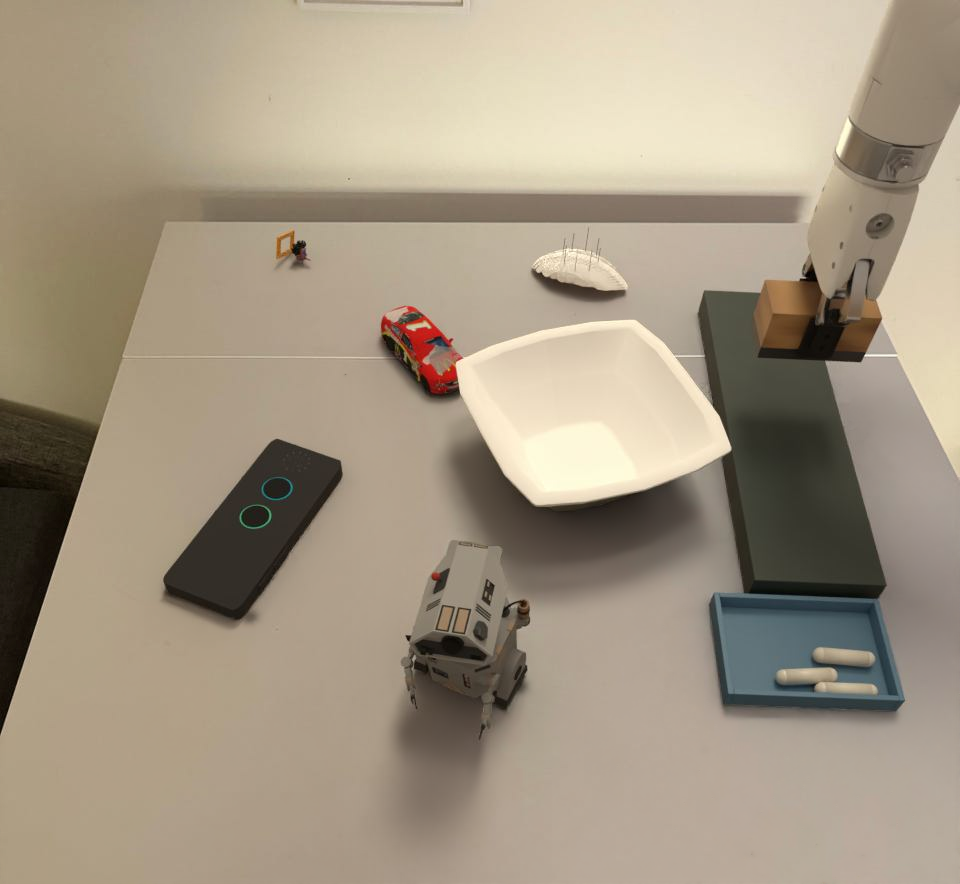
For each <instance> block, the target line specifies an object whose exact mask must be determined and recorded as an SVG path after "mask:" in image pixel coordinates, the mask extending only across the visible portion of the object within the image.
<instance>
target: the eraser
mask: <svg viewBox="0 0 960 884" xmlns="http://www.w3.org/2000/svg"><path fill="white" fill-rule="evenodd" d="M841 288H847V284H844V285H843V286H842V287H841ZM759 293H760V296H759V299H758V302H757V305H756V308H755V311H754V314H753V317H752V320H751V323H750V326H751V331H752V336H753V340H754V345H755V350H756V355H757V358H774V359H796V360H818V361H825V362H840V363H841V362H843V363H862V362H863V360H864V358H865V355H866V354H867V352H868V349H869V348H870V345H871V343H872V341H873V339H874V338H875V335H876V333H877V331H878V329H879V327H880V325H881V323H882V321H883V316H882V313H881V310H880V307H879V304H878V300H877V299H876V300H875V301H870V300H867V299H866V296H865V297H864V303H863V309H862V315H861V319H860V321H859V323H851V324H849V325H848V327H845V329H844V331H843V333H842V335H841V337H840V340H839V342H838V344H837V346H836V349H835V351H834V353H833V355H832V357H831V358H829V359H821V358H801V357H799V356H798V352H797V351H798V348H799V346H800V343H801V341H802V338H803V336H804V333H805V331H806V328H807V326H808V324H809V321H810V319H811V318H816V314H817V311H818V307H819V304H820V300H821V297H822V293H823V292H822V291H821V288H820V286H819V282H807V281H799V280H787V279H786V280H784V279H765V280H764V281H763V284H762V288H761V291H760V292H759ZM844 300H845V299H832V300H831V303H830V307H829V310H831V309H833V308H842V306H843V304H844Z"/></svg>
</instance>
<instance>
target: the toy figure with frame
mask: <svg viewBox="0 0 960 884" xmlns="http://www.w3.org/2000/svg"><path fill="white" fill-rule="evenodd" d="M295 233H296V232H295V229H292V230H290V231H287V232H285V233H283V234H281V235H278V236H276V252H275V253H276V254H275V256H276V257H275V259H276V260H279V259H281V258H284V257H285V256H288V255H289V254H292V255H294V257H295V259H296V261H297V262H298V263H300V264H301V263H304V261H305V260H307V261H309V262H310V261H312V260H311V259H310V258H307V256H308V253H307V248H306V247H307V242H306V241H305V240H303V239H302V240H301V239H299V240H297V241H296V242H295ZM287 238H289V248H288V249H286V250H283V251H282V252H281V250H282V249H281V248H282V241H283V240H286V239H287Z"/></svg>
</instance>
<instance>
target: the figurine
mask: <svg viewBox="0 0 960 884" xmlns="http://www.w3.org/2000/svg"><path fill="white" fill-rule="evenodd" d="M502 553H503V548H502V547H501V546H499V545H493V544H485V543H479V542H471V541H463V540H457V539H451V540H450V541H449V543H448V546H447V550H446V553H445V554H444V556H443V557H442V559H441V560H440V562H439V563H438V564H437V565H436V567H435V568H434V570H433V571H432V572H431V573H430V575H429V576H428V578H427V582H426V585H425V589H424V591H423V595H422V598H421V601H420V605H419V608H418V612H417V615H416V618H415V622H414V625H413V627H412V631H411V634H406V635H405V638H406V641H407V642H408V645H409V647H408V654H407V656H403V657H402V658H401V659H400V665H401V666H402V667H403V673H404V675H405V676H404V681H405V682H404V683H405V686H406V688H407V690H408V692H410V693H409V694H410V696H409V697H410V698H409V699H410V701H411V704H412V705H414V707H415V709H416V710H418V704H417V697H416V696H417V694H416V689H417V687H416V682H415V679H414V670H415V671H418V672H419V673H422V674H424V675H426V674H427V673H428V671H429V673H430V676H431V678H432V681H435V682H437V683H439V684H441V686H443V687H446V688H447V689H450V690H452V691H455V692H457V693H460V694H461V695H463V696H464V695H467V696H469V697H471V698H473V699H475V698H478V697H481V701H482V702H483V707H482V708H483V709H482V712H481V715H480V731H479V734H478V740H480V741H481V739H482V734H483V733H484V732H483V731H484V730H485V729H487V728H488V730H490V729H492V725H493V724H492V723H493V721H492V720H493V714H492V704H493V705H495V706H496V707H500V708H502V709H504V710H507V709H508V707H509V706H510V704H511V702H512V700H513V698H514V696H515V694H516V693H517V690H518V689H519V687H520V685H521V684H522V681H523V679H525V676H526V674H527V673H528V665H527V652H525V651H523V650H521V649H518V640H517V639H518V637H517V635H518V634H517V632H518V631H517V630H520V629H522V628H523V627H527V626H529V625H530V624H531V616H530V612H531V605H530V601H529V600H528V599H527V598H520V599H519V600H516V601H513V602H511V603H510V601H509V599H508V597H507V594H508V590H509V588H508V585H507V582H506V578H505V575H504V571H503V569H502V566H501V557H502ZM516 604H517V607H512V606H514V605H516ZM414 656H415V659H414ZM413 659H414V660H413ZM494 692H496V693H495V695H494V694H493V693H494Z"/></svg>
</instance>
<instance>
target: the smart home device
mask: <svg viewBox="0 0 960 884" xmlns="http://www.w3.org/2000/svg"><path fill="white" fill-rule="evenodd" d="M343 474H344V473H343V466H342V461H341V460H340V459H337V458H334V457H332V456H329V455H326V454H324V453H320V452H317V451H315V450H311V449H309V448H306V447H303V446H300V445H297V444H294V443H292V442H288V441H286V440H283V439H280V438H275V439H273V440H271V441H270V442H269V443H268V444H267V445H266V447H264V449H263V450H262V452H261V453H260V454H259V455H258V456H257V458H255V460H254V462H253V463H252V464H251V465H250V466H249V468H248V469H247V470H246V471H245V473H244V474H243V475H242V476H241V478H240V479H239V480H238V482H237V483H235V485H234V487H233V488H232V490H231V491H230V492H229V493H228V494H227V496H226V497H225V498H224V499H223V501H222V502H221V503H220V504H219V506H218V507H217V508H216V509H215V511H214V512H213V513H212V514H211V515H210V517H209V518H208V519H207V521H206V522H205V523H204V525H203V526H202V527H201V528H200V530H199V531H198V532H197V533H196V534H195V536H194V537H193V539H192V540H191V541H190V542H189V543H188V544H187V546H186V548H185V549H184V550H183V551H182V552H181V554H180V555H179V556H178V557H177V559H176V560H175V561H174V562H173V564H172V565H171V566H170V568H169V569H168V570H167V571H166V573H165V574H164V576H163V578H162V583H163V584H164V587H165V589H166V591H167V593H168V594H170V595H172V596H175V597H177V598H179V599H182V600H185V601H187V602H190V603H192V604H195V605H197V606H200V607H203V608H205V609H207V610H210V611H213V612H216V613H218V614H220V615H223V616H225V617H228V618H230V619H233V620H237V621H238V620H240V619H242V618H243V617H244V616H245V615H246V614H247V613H248V611H249V610H250V608H251V607H252V606H253V605H254V603H255V601H256V600H257V599H258V598H259V596H260V595H261V593H262V592H263V590H264V589H265V588H266V586H267V585H268V583H269V582H270V580H271V579H272V577H273V576H274V574H275V573H276V572H277V570H278V569H279V568H280V566H281V565H282V563H283V562H284V560H285V559H286V558H287V557H288V555H289V553H290V552H291V551H292V550H293V548H294V546H295V545H296V544H297V542H298V541H299V539H300V538H301V536H302V535H303V533H304V532H305V531H306V529H307V528H308V527H309V525H310V524H311V523H312V521H313V520H314V518H315V517H316V515H317V514H318V513H319V511H320V510H321V508H322V507H323V505H324V504H325V502H326V501H327V500H328V498H329V497H330V496H331V494H332V493H333V492H334V490H335V489H336V487H337V486H338V484H339V483H340V481H341V480H342V478H343Z"/></svg>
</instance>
